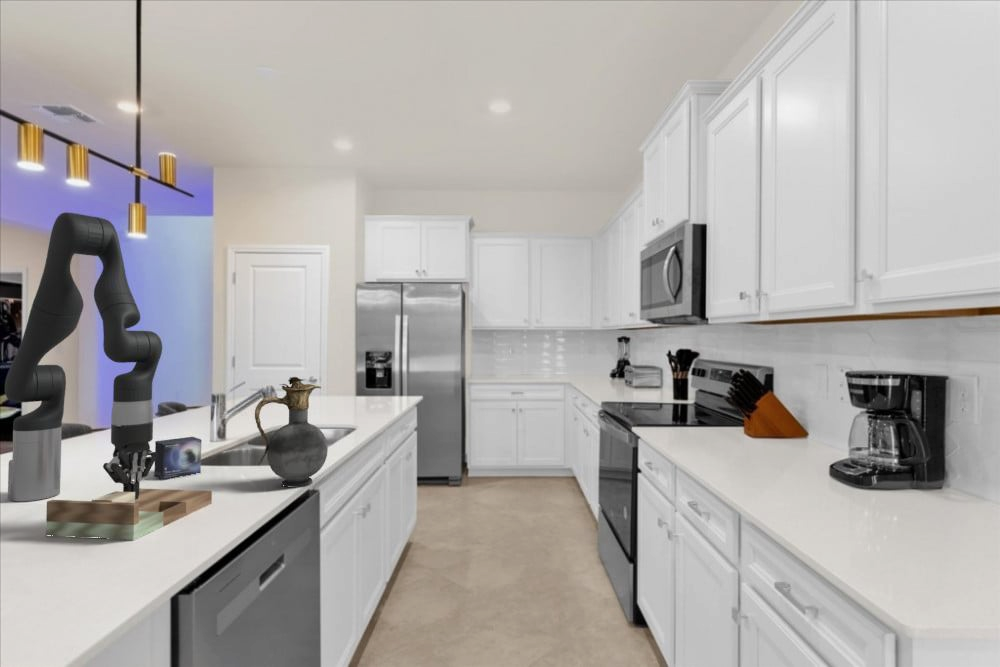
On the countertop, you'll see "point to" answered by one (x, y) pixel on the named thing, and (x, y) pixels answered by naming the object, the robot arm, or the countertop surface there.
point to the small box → (177, 457)
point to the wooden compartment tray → (123, 514)
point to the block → (117, 497)
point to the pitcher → (294, 437)
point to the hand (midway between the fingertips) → (131, 499)
